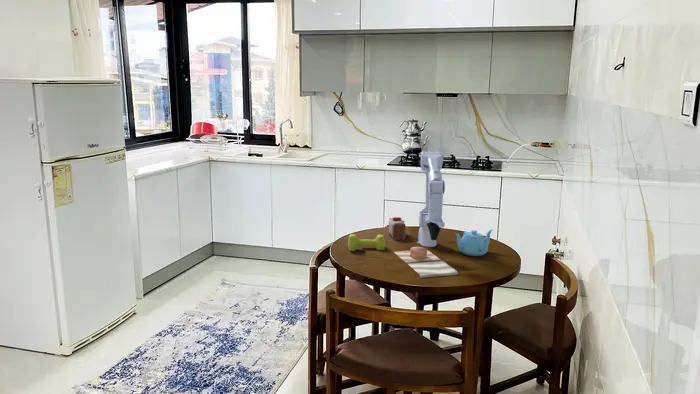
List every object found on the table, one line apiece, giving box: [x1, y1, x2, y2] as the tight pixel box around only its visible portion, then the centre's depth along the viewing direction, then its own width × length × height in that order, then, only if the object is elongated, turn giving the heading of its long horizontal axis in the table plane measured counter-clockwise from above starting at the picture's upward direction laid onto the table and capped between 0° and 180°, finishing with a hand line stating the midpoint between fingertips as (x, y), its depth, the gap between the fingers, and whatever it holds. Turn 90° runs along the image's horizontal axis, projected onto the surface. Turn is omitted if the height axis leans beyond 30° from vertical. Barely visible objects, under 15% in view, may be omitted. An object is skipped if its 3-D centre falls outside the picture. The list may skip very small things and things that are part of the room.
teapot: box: [454, 229, 493, 257], centre depth 232 cm, size 15×15×10 cm
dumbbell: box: [347, 233, 386, 252], centre depth 234 cm, size 16×8×7 cm, turn 89°
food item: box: [388, 216, 407, 241], centre depth 257 cm, size 14×8×10 cm, turn 6°
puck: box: [409, 246, 428, 260], centre depth 222 cm, size 7×7×4 cm
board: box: [393, 249, 459, 279], centre depth 217 cm, size 31×16×1 cm, turn 15°
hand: (433, 239), depth 221 cm, fingers closed
